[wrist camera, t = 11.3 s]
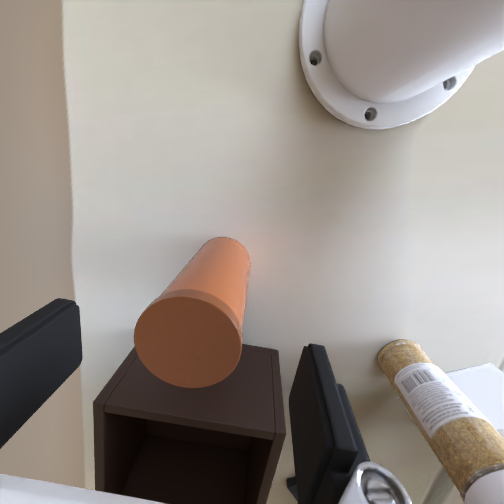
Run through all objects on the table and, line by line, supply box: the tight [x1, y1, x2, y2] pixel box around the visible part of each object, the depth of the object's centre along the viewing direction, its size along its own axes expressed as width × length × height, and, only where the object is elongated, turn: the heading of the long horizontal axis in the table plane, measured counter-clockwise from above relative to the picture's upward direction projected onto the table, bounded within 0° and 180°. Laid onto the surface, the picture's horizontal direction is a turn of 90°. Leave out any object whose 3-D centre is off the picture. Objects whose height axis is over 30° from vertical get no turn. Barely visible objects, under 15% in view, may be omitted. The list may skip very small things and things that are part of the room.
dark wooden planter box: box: [93, 344, 286, 504], centre depth 24 cm, size 15×14×9 cm
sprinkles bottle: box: [378, 340, 504, 504], centre depth 19 cm, size 5×5×14 cm
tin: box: [134, 237, 250, 388], centre depth 18 cm, size 5×5×12 cm
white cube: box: [445, 363, 504, 438], centre depth 24 cm, size 6×6×6 cm
